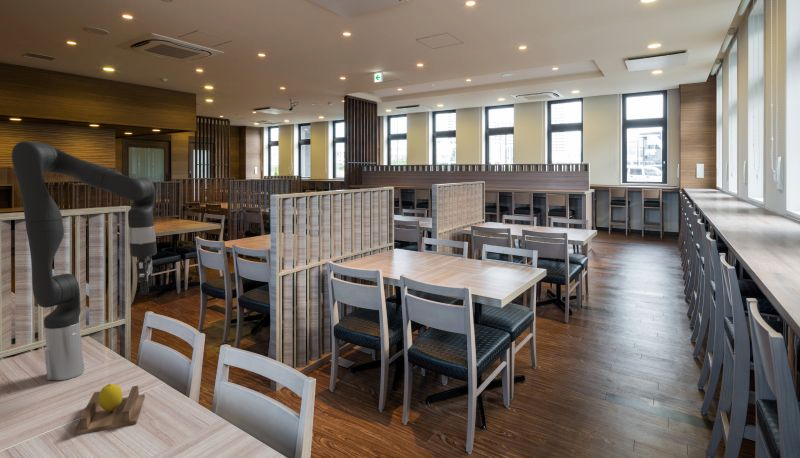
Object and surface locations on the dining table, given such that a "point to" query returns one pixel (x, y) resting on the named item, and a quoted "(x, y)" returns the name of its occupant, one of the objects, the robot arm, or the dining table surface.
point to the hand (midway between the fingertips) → (146, 289)
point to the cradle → (110, 413)
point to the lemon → (110, 397)
